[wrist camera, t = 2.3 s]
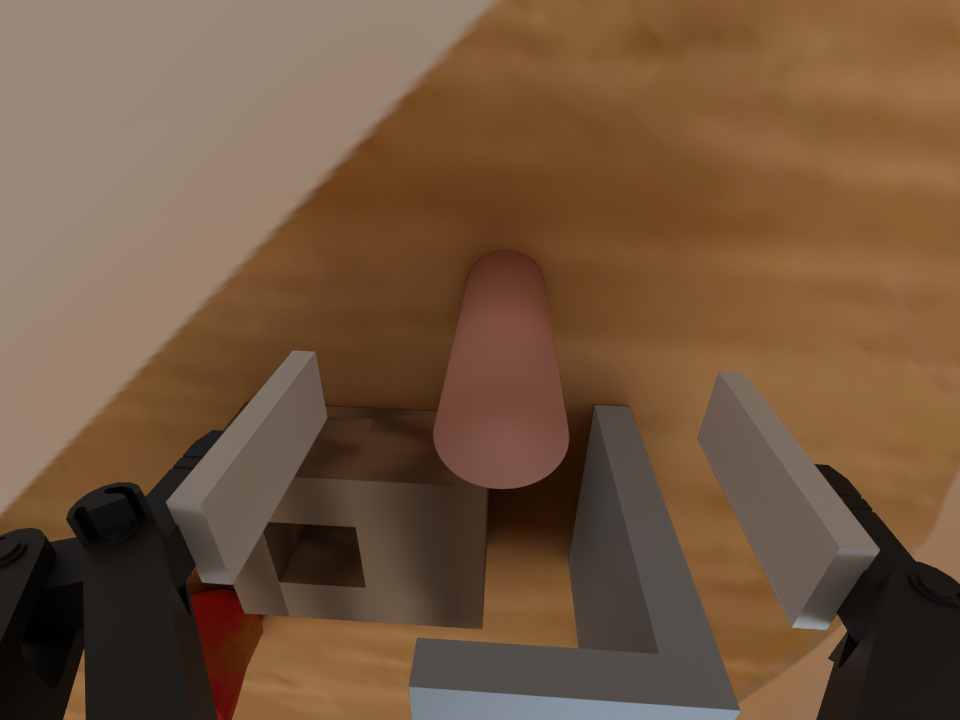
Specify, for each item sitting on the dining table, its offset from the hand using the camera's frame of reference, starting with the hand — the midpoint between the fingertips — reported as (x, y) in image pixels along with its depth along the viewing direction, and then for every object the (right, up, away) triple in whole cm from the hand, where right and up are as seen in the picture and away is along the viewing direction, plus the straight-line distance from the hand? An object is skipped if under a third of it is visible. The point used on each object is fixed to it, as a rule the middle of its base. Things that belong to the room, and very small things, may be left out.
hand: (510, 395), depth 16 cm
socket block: (-8, -7, +16) cm, 19 cm away
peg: (0, +5, +8) cm, 10 cm away
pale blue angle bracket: (+3, -7, +15) cm, 17 cm away
